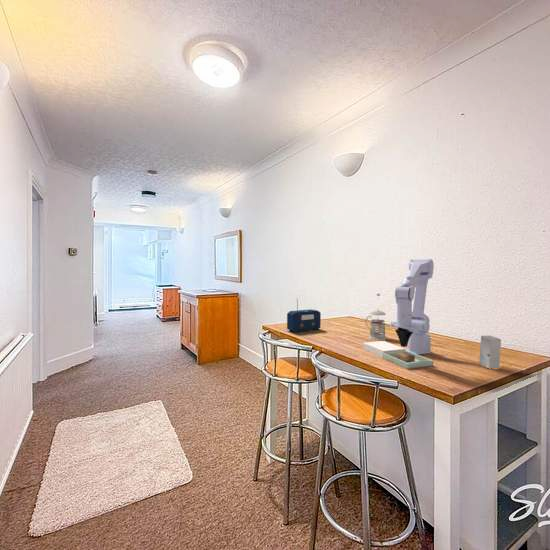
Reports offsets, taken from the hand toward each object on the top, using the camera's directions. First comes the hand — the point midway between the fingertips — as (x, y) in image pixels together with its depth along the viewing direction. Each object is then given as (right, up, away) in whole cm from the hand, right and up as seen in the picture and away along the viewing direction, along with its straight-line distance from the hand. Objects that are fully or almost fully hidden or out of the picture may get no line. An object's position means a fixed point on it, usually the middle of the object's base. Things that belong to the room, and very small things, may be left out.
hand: (403, 346), depth 129 cm
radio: (-37, -4, +60) cm, 71 cm away
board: (-4, -6, +13) cm, 14 cm away
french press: (+2, -5, +42) cm, 42 cm away
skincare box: (+31, -7, -8) cm, 33 cm away
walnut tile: (0, -4, -1) cm, 5 cm away
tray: (0, -6, -2) cm, 6 cm away
